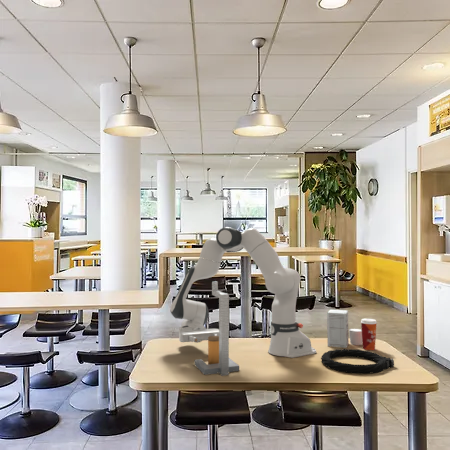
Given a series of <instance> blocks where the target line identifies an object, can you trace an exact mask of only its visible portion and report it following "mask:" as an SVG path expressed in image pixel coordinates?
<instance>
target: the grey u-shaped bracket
mask: <svg viewBox="0 0 450 450" xmlns="http://www.w3.org/2000/svg"><path fill="white" fill-rule="evenodd" d="M194 366H195V367H196V368H198V370H199V371H200V372H201V373H202V374H203V375H213V374H219V363H217V364H208V363H206V362H205V361H204V360H203V359H202V358H201V359H194ZM239 371H240V365H239V364H238V363H236V362H235V361H234V360H232V359H231V358H230V357H229V373H230V372H239Z"/></svg>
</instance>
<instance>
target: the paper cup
mask: <svg viewBox="0 0 450 450" xmlns="http://www.w3.org/2000/svg"><path fill="white" fill-rule="evenodd" d="M360 323H361V324H360V326H361V329H362V350H364V351H375V349H376V338H377V324H378V321H377V320H376V319H375V318H365V317H364V318H361V320H360Z"/></svg>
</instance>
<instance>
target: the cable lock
mask: <svg viewBox="0 0 450 450" xmlns="http://www.w3.org/2000/svg"><path fill="white" fill-rule="evenodd" d="M345 357H346V358H358V359H366V360H369V361H372V362H375V363H370V364H369V363H367V364H352V363H347V362H340V361H337V360H333V359H335V358H345ZM320 360H321V363H322V364H323V366H326V367H327V368H329V369H332V370H335V371H337V372H342V373H348V374H359V375H361V374H362V375H363V374H376V373H379V372H383V371H385V370H387V369H390V368H394V366H395V360H394V358H391V357H386V356H382V355H381V354H378V353H376V352H372V351H371V350H364V349H352V348H350V349H349V348H339V349H338V348H337V349H332V350H328V351H326V352H324V353H323V354H322V355H321V357H320ZM389 367H390V368H389Z"/></svg>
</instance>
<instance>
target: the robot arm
mask: <svg viewBox="0 0 450 450" xmlns="http://www.w3.org/2000/svg"><path fill="white" fill-rule="evenodd" d="M243 249H244V250H245V251H246V252H247V253H248V254H249V255H248V256H250V258H251V259H252V260H253V262H254V264H256V266H257V267H258V269H259V270H260V273H261V274H262V277H263V279H264V285H265V288H266V289H267V291H268V292H269V293H271V294H274V297H273V301H272V304H271V321H270V334H271V335H270V341H269V342H270V344H269V347H268V352H267V353H269V354H270V355H274V356H278V357H287V358H292V359H293V358H298V357H303V356H309V355H314V354H317V349H316V348H314V347H312V342H311V339H310V338H309V337H308V336H307V335H306V334H305V333H303V332H302V331H301V330H300V329H303V327H304V325H303V324H302V323H299V322H297V321H296V305H297V299H298V293H299V287H300V283H301V280H302V279H301V276H300V273H299V272H298V271H297V270H296V269H294V268H290V267H286V268H285V267H284V266H283V264H282V262H281V259H280V258H279V254H278V252H277V251H276V250H275V248H274V247H273V246H272V245H271V243H270V242H269V240H267V239H266V237H265V236H264V235H263V234H262V233H261V232H260V231H258V230H257V229H256V228H254V227H251V228H248V229H245V230H244V231H242V232H241V231H240V230H239V229H236V228H233V227H230V226H225V227H222V228H220V229H219V230H218V231H217V232H216V236H215V238H214V237H212V238H208V239H206V240H205V241H204V244H203V246H202V247H201V251H200V254H199V257H198V260H197V262H196V264H195V265H193V266H191V267H189V269H188V270H187V273H186V275H185V276H184V278H183V281H182V282H181V285H180V286H179V289H178V292H177V294H176V295H175V297H174V299H173V300H172V303H171V304H170V314H171V315H172V317H173V318H175V319H179V320H183V321H182V322H181V324H180V327H179V330H178V338H179V339H178V340H179V342H180V343H190V342H191V343H201V342H204V341H208V337H209V336H219V328H206V327H205V325H206V323H207V322H208V318H209V312H210V311H209V307H208V306H207V304H206V303H205V302H201V301H198V300H197V301H196V300H191V299H187V296H188V294H189V292H190V290H191V287H192V285H193V283H194V282H196V281H199V280H204V279H209V278H212V277H215V275H217V274H218V272H219V270H220V268H221V265H222V264H221V263H222V259H223V257H224V256H223V255H224V254H225V253H237V252H240V251H242V250H243Z"/></svg>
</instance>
